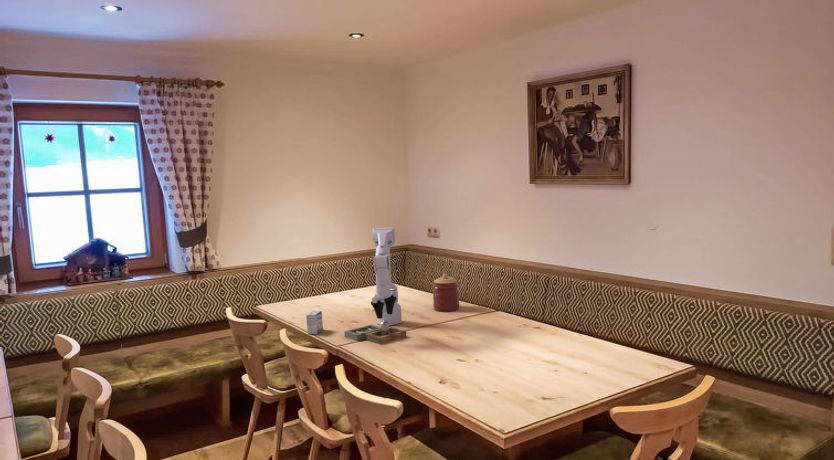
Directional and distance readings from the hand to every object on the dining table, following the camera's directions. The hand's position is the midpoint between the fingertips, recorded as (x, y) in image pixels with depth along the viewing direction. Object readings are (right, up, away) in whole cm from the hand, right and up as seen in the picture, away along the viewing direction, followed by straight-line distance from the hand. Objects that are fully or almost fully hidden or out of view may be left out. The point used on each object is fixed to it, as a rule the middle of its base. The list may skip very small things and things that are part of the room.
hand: (384, 316), depth 250 cm
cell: (0, -9, +1) cm, 9 cm away
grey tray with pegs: (-9, -9, +7) cm, 14 cm away
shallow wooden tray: (0, -9, +1) cm, 9 cm away
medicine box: (-32, -9, +16) cm, 37 cm away
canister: (+28, -3, +47) cm, 55 cm away
